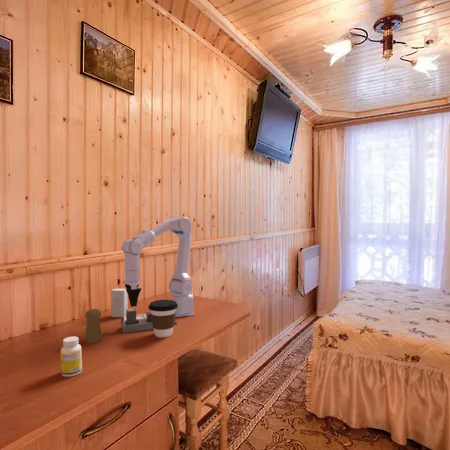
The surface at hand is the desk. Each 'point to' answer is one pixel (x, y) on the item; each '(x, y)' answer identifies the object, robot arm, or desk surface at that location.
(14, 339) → the desk surface
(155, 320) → the coffee cup
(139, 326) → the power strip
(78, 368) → the supplement bottle
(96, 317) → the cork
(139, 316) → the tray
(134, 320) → the plug
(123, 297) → the skincare box
